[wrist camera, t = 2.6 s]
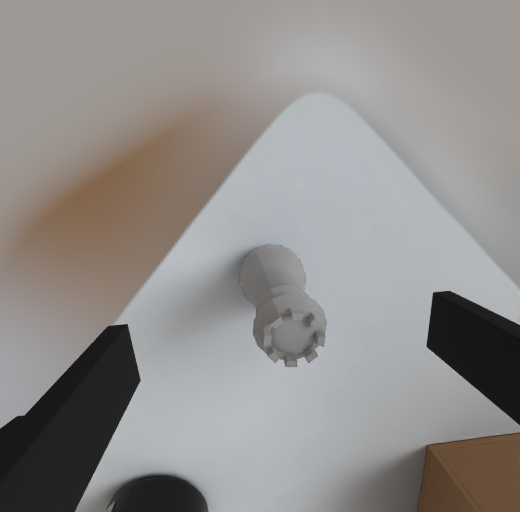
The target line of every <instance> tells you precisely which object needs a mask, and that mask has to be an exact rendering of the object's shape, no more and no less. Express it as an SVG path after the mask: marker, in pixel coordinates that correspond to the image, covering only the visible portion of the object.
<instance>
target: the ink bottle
mask: <svg viewBox="0 0 520 512" xmlns="http://www.w3.org/2000/svg"><path fill="white" fill-rule="evenodd" d="M105 512H208V506H207V503H206V500H205V498H204V497H203V495H202V494H201V493H200V491H199V490H198V489H197V488H195V487H194V486H193V485H191V484H190V483H188V482H186V481H184V480H181V479H178V478H174V477H152V478H147V479H142V480H139V481H136V482H134V483H131V484H129V485H127V486H125V487H124V488H122V489H121V490H120V491H118V492H117V493H116V494H115V495H114V496H113V498H112V499H111V501H110V502H109V504H108V506H107V509H106V511H105Z"/></svg>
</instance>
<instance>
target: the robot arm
mask: <svg viewBox="0 0 520 512" xmlns="http://www.w3.org/2000/svg"><path fill="white" fill-rule="evenodd" d="M427 347H428V348H429V349H430V350H431V351H432V352H433V353H435V354H436V355H437V356H438V357H439V358H441V359H442V360H443V361H444V362H445V363H447V364H448V365H449V366H450V367H451V368H452V369H454V370H455V371H456V372H457V373H458V374H460V375H461V376H462V377H463V378H464V379H466V380H467V381H468V382H469V383H470V384H471V385H473V386H474V387H475V388H476V389H477V390H479V391H480V392H481V393H482V394H483V395H485V396H486V397H487V398H488V399H489V400H491V401H492V402H493V403H494V404H495V405H496V406H498V407H499V408H500V409H501V410H502V411H504V412H505V413H506V414H507V415H508V416H510V417H511V418H512V419H513V420H514V421H515V422H517V423H518V424H519V425H520V325H519V324H517V323H515V322H513V321H510V320H508V319H506V318H504V317H502V316H500V315H498V314H496V313H494V312H492V311H490V310H488V309H486V308H484V307H482V306H480V305H478V304H476V303H473V302H471V301H469V300H467V299H465V298H463V297H461V296H459V295H457V294H455V293H453V292H451V291H444V292H434V293H433V298H432V307H431V315H430V323H429V331H428V339H427ZM139 382H140V376H139V371H138V367H137V363H136V359H135V354H134V350H133V346H132V341H131V337H130V333H129V329H128V324H124V325H114V326H108V327H107V328H106V329H105V330H104V331H103V332H102V333H101V334H100V335H99V336H98V337H97V338H96V340H95V341H94V342H93V343H92V344H91V345H90V346H89V347H88V348H87V349H86V350H85V351H84V352H83V353H82V355H81V356H80V357H79V358H78V359H77V360H76V361H75V362H74V363H73V364H72V365H71V366H70V367H69V368H68V370H67V371H66V372H65V373H64V374H63V375H62V376H61V377H60V378H59V379H58V380H57V382H55V383H54V385H53V386H52V387H51V388H50V389H49V390H48V391H47V392H46V393H45V394H44V395H43V396H42V397H41V398H40V400H39V401H38V402H37V403H36V404H35V405H34V406H33V407H32V408H31V409H30V410H29V411H28V412H27V413H26V415H25V416H17V417H16V418H14V419H13V420H12V421H10V422H9V423H7V424H6V425H5V426H3V427H2V428H1V429H0V512H75V510H76V508H77V506H78V504H79V502H80V500H81V498H82V496H83V494H84V492H85V490H86V488H87V486H88V484H89V482H90V480H91V478H92V476H93V474H94V472H95V470H96V468H97V466H98V464H99V462H100V460H101V458H102V456H103V454H104V452H105V450H106V448H107V446H108V444H109V442H110V440H111V438H112V436H113V434H114V432H115V430H116V428H117V426H118V424H119V422H120V420H121V418H122V416H123V414H124V412H125V410H126V408H127V406H128V404H129V402H130V400H131V398H132V396H133V394H134V392H135V390H136V388H137V386H138V384H139Z"/></svg>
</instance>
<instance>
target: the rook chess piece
mask: <svg viewBox="0 0 520 512" xmlns="http://www.w3.org/2000/svg"><path fill="white" fill-rule="evenodd" d="M239 281H240V283H241V288H242V291H243V293H244V296H245V297H246V299H247V300H248V301H249V302H250V303H251V304H252V305H253V306H254V307H256V308H257V309H256V318H255V320H254V327H253V335H254V337H255V340H256V342H257V345H258V346H259V347H260V348H261V349H262V350H263V351H264V352H265V353H266V354H267V356H268V357H269V358H270V359H272V360H273V361H274V362H275V363H276V362H277V360H278V359H283V360H284V362H285V366H286V367H297V360H296V359H299V358H302V357H305V358H306V360H307V361H308V363H310V362H311V361H312V360H313V359H315V358H316V357H317V356H318V355H317V353H316V351H315V348H316V347H317V346H323V347H324V342H325V330H326V323H327V321H326V318H325V315H324V311H323V309H322V308H321V307H320V306H319V305H318V304H317V302H316V301H315V300H313V299H311V298H309V297H308V295H307V294H306V293H305V292H304V289H305V281H306V275H305V271H304V268H303V265H302V263H301V261H300V259H299V258H298V257H297V256H296V254H295V253H294V252H293V251H292V250H290V249H288V248H285V247H283V246H281V245H266V246H263V247H260V248H257V249H255V250H254V251H253V252H251V253H250V254H249V255H248V256H247V257H246V258H245V260H244V262H243V264H242V266H241V268H240V280H239Z"/></svg>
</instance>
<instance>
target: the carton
mask: <svg viewBox="0 0 520 512" xmlns="http://www.w3.org/2000/svg"><path fill="white" fill-rule="evenodd" d="M418 512H520V433H516V434H509V435H501V436H494V437H486V438H479V439H472V440H464V441H457V442H449V443H442V444H435V445H428V447H427V454H426V460H425V467H424V473H423V480H422V486H421V493H420V499H419V506H418Z"/></svg>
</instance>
